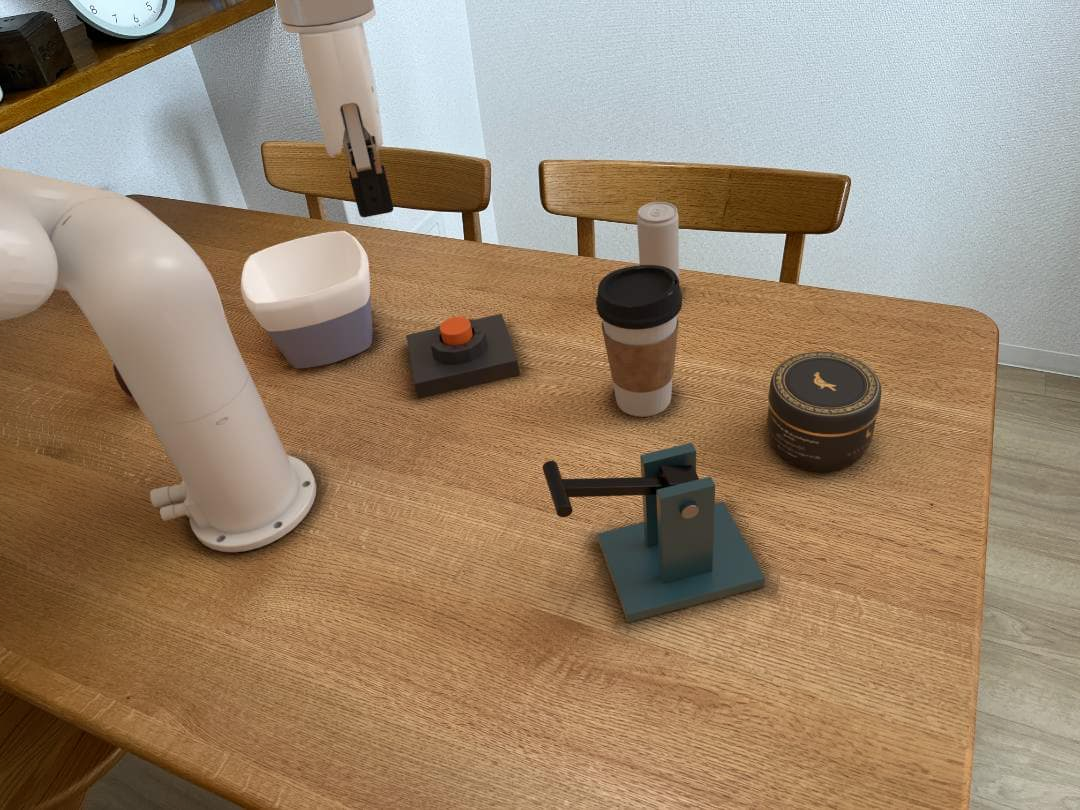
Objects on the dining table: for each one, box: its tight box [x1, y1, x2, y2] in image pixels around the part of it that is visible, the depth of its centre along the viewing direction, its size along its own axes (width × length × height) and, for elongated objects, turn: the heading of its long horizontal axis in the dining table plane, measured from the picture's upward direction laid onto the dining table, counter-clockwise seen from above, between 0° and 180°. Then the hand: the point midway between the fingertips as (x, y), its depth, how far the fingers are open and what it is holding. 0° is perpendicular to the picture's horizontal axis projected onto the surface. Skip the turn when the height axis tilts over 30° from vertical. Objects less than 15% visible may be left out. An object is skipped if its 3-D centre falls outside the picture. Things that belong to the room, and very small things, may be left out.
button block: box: [406, 313, 521, 399], centre depth 95 cm, size 12×10×4 cm
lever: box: [541, 460, 700, 518], centre depth 63 cm, size 12×5×2 cm, turn 103°
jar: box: [766, 350, 882, 472], centre depth 77 cm, size 10×10×8 cm
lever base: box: [597, 442, 766, 624], centre depth 67 cm, size 12×9×12 cm
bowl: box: [240, 230, 374, 369], centre depth 100 cm, size 15×15×11 cm
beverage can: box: [636, 201, 680, 280], centre depth 98 cm, size 5×5×12 cm
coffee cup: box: [595, 264, 683, 418], centre depth 83 cm, size 8×8×15 cm
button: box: [439, 316, 473, 346], centre depth 94 cm, size 4×4×2 cm
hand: (376, 210), depth 76 cm, fingers closed
